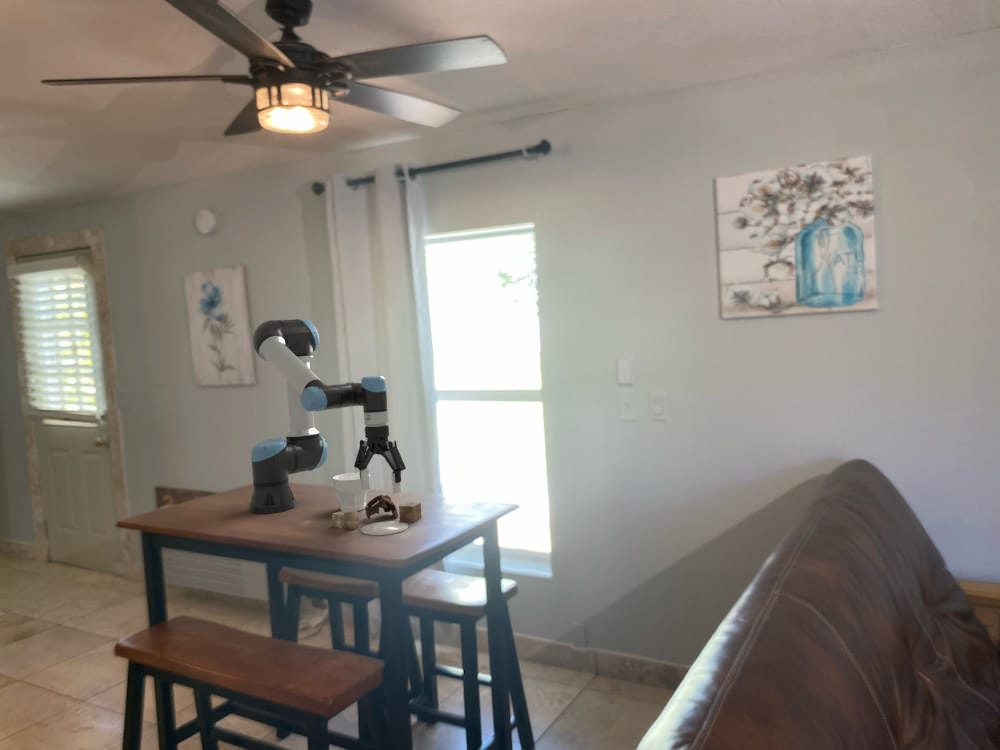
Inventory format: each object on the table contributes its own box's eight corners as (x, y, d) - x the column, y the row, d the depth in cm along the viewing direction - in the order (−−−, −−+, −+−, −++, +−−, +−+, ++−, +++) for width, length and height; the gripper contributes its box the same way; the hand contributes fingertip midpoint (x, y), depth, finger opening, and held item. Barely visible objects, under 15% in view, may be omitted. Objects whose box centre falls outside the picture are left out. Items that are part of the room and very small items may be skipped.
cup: (346, 515, 237) (344, 481, 236) (327, 509, 246) (325, 477, 245) (379, 507, 245) (377, 475, 244) (360, 502, 254) (358, 471, 253)
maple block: (333, 526, 224) (332, 513, 224) (349, 522, 228) (348, 509, 228) (340, 528, 221) (339, 515, 221) (356, 524, 226) (356, 511, 225)
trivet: (351, 531, 216) (351, 530, 216) (384, 520, 228) (384, 519, 228) (385, 537, 208) (385, 536, 208) (418, 525, 220) (418, 524, 220)
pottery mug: (397, 522, 227) (383, 501, 224) (372, 535, 228) (358, 515, 226) (404, 503, 238) (390, 484, 236) (380, 516, 240) (366, 496, 238)
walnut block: (399, 521, 226) (398, 505, 225) (407, 517, 230) (406, 501, 230) (414, 522, 224) (413, 506, 224) (421, 518, 229) (420, 502, 228)
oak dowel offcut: (342, 529, 220) (341, 512, 220) (351, 525, 223) (350, 509, 223) (351, 530, 218) (350, 514, 217) (361, 527, 221) (360, 511, 221)
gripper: (340, 425, 235) (345, 490, 236) (397, 427, 220) (402, 496, 221) (357, 422, 241) (361, 486, 242) (414, 424, 226) (418, 491, 227)
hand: (381, 491), depth 232 cm, fingers open, 13 cm apart
